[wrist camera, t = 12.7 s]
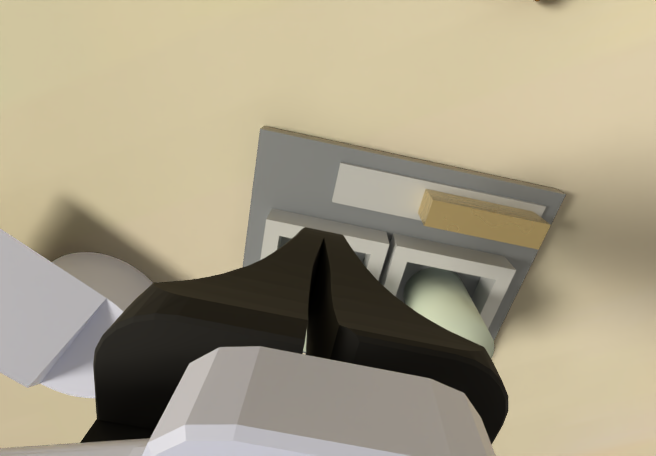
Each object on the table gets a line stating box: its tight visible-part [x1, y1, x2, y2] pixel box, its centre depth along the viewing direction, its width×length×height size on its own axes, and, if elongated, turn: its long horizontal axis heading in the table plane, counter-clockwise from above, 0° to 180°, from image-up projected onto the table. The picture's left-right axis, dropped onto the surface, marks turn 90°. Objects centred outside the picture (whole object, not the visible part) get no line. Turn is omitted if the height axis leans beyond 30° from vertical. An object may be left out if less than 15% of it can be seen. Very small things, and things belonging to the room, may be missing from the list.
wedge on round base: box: [0, 229, 153, 398], centre depth 22 cm, size 9×7×13 cm
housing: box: [243, 126, 566, 353], centre depth 20 cm, size 14×16×6 cm
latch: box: [418, 189, 551, 250], centre depth 19 cm, size 1×6×2 cm, turn 78°
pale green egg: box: [404, 267, 494, 358], centre depth 20 cm, size 4×4×5 cm
